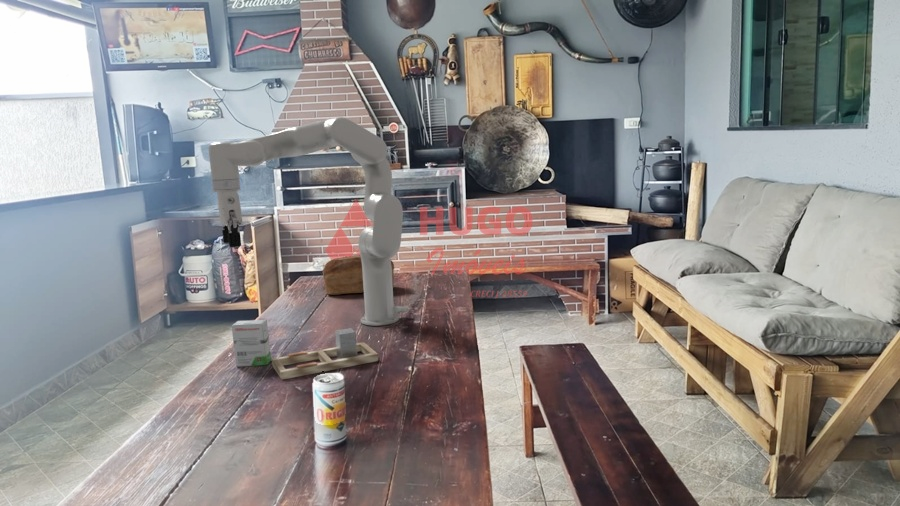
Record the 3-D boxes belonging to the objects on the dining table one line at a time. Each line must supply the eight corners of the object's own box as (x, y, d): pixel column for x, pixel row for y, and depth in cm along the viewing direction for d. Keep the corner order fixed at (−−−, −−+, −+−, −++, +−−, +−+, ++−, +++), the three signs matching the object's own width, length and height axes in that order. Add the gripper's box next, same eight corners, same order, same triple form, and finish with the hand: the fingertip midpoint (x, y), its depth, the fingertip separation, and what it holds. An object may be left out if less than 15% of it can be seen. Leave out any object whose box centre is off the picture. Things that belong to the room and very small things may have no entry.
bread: (396, 292, 253) (394, 256, 251) (324, 297, 249) (321, 261, 246) (394, 285, 265) (392, 251, 262) (324, 290, 261) (322, 256, 258)
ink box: (272, 359, 179) (268, 318, 177) (266, 365, 175) (262, 323, 172) (241, 360, 180) (237, 319, 178) (235, 367, 175) (230, 325, 173)
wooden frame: (364, 348, 185) (363, 340, 185) (378, 360, 175) (377, 352, 174) (272, 365, 174) (271, 356, 174) (281, 379, 164) (280, 370, 163)
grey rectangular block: (352, 355, 180) (350, 328, 179) (357, 360, 176) (355, 332, 175) (336, 358, 178) (334, 330, 177) (341, 363, 174) (339, 334, 173)
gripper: (245, 186, 180) (251, 246, 183) (234, 183, 195) (239, 239, 198) (217, 188, 176) (223, 249, 179) (208, 185, 191) (214, 242, 194)
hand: (232, 244), depth 188 cm, fingers open, 9 cm apart
